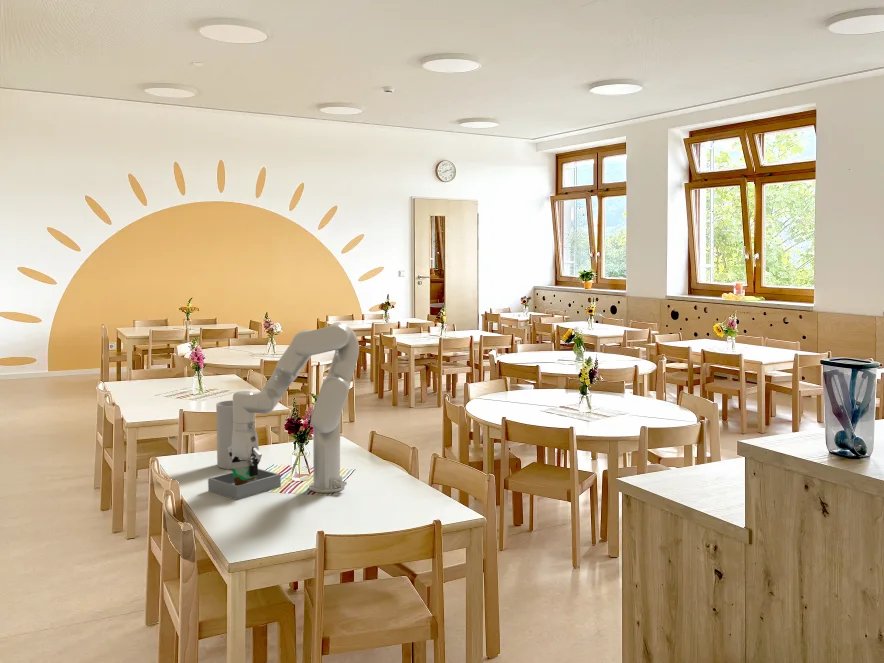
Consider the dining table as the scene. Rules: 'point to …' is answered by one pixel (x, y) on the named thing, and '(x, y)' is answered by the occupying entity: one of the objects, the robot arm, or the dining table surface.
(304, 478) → the dining table surface
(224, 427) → the cylinder vase
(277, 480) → the bin
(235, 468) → the food container
